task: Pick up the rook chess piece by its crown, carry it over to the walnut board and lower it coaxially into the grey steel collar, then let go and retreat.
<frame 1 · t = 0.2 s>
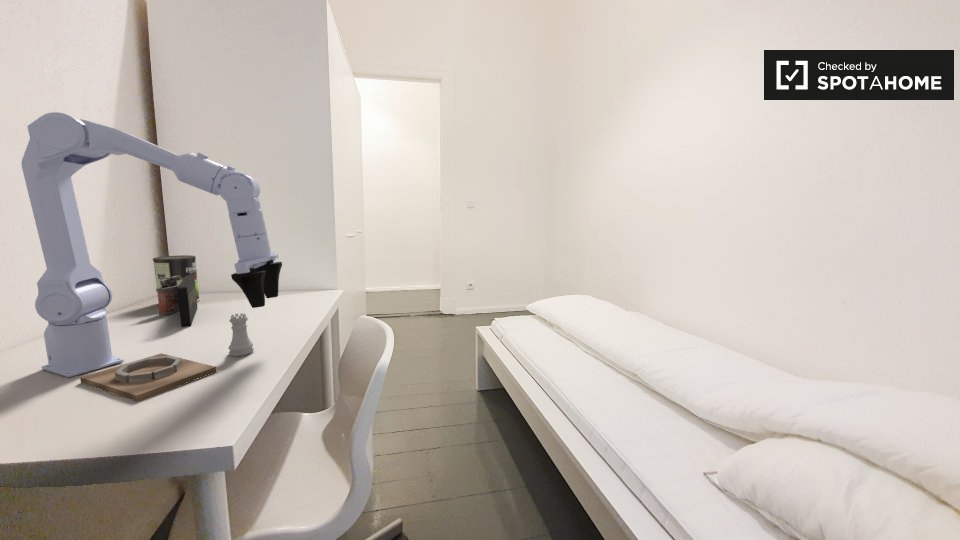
hand: (265, 301, 80), 10 cm above the table, tool pointing down, fingers open, 7 cm apart
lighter: (173, 312, 110), on the table
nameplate: (190, 317, 106), on the table
socket board: (151, 377, 68), on the table
rook chess piece: (241, 354, 80), on the table
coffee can: (179, 302, 121), on the table
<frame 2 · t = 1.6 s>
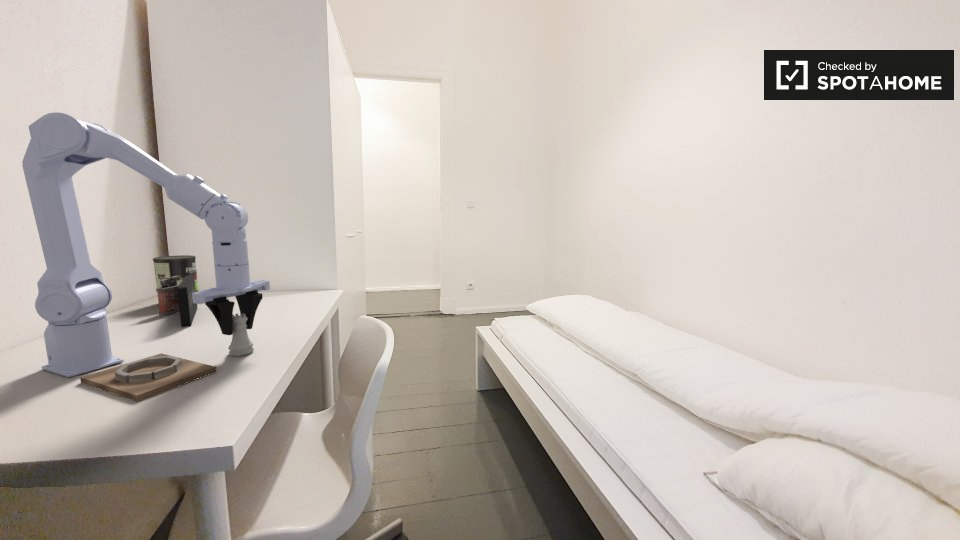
hand: (237, 331, 79), 5 cm above the table, tool pointing down, fingers open, 4 cm apart
rook chess piece: (241, 354, 80), on the table, touching gripper
everything else where it was.
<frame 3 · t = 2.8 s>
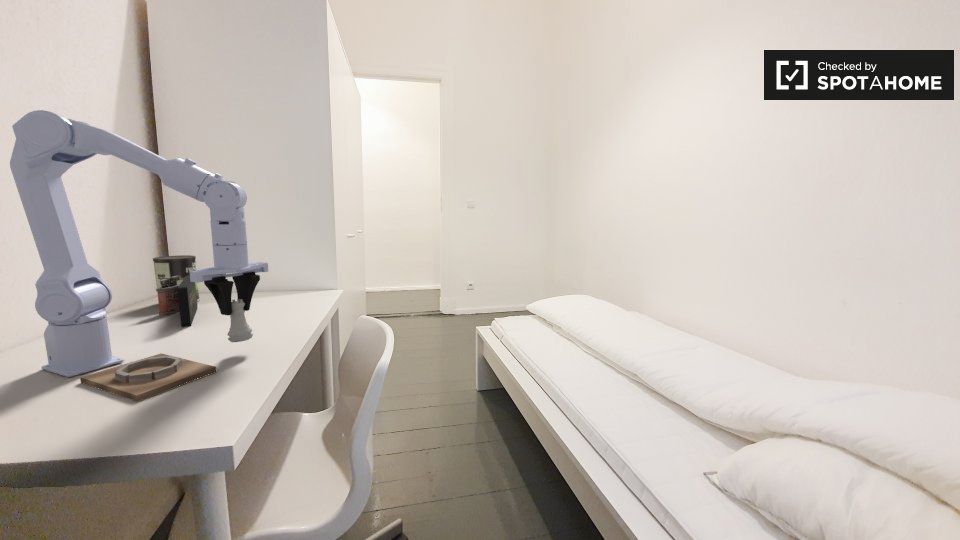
hand: (235, 312, 78), 9 cm above the table, tool pointing down, fingers closed on rook chess piece, 3 cm apart
rook chess piece: (241, 340, 79), point 3 cm above the table, touching gripper
everything else where it was.
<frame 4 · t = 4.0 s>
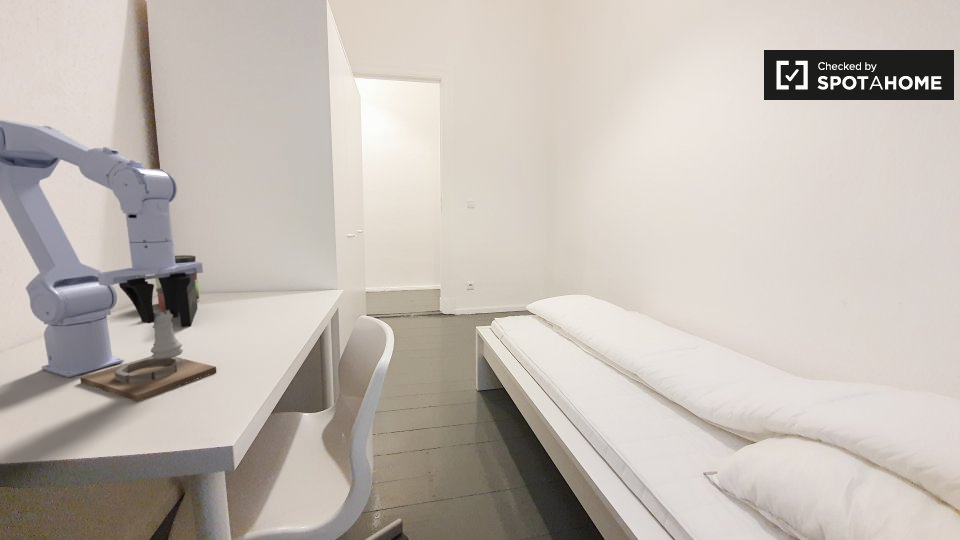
hand: (160, 319, 68), 10 cm above the table, tool pointing down, fingers closed on rook chess piece, 3 cm apart
rook chess piece: (168, 356, 69), point 3 cm above the table, touching gripper
everything else where it was.
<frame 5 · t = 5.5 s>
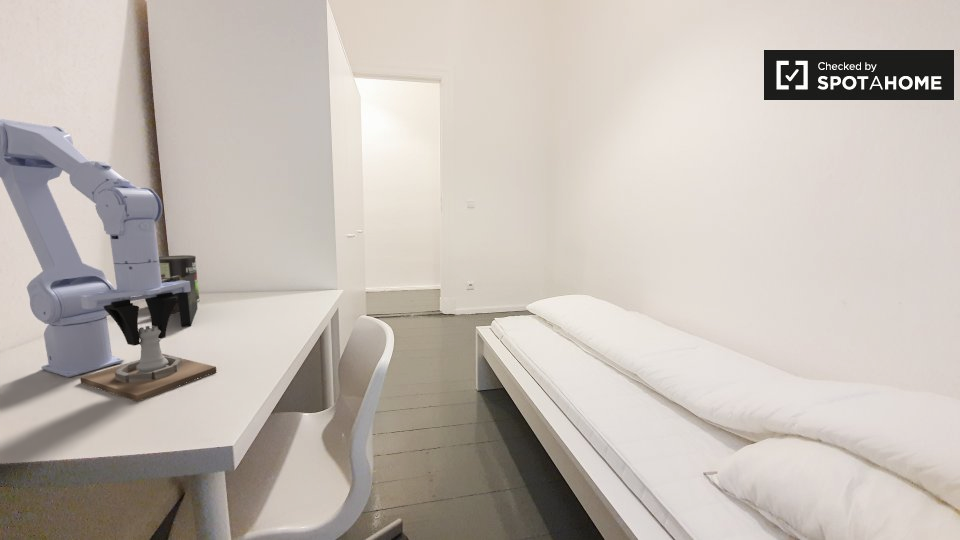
hand: (146, 340, 67), 7 cm above the table, tool pointing down, fingers closed on rook chess piece, 3 cm apart
rook chess piece: (153, 373, 68), point 1 cm above the table, touching gripper, socket board
everything else where it was.
when the fingers open (6 cm above the table, at t = 6.3 s): rook chess piece stays where it is, resting on socket board.
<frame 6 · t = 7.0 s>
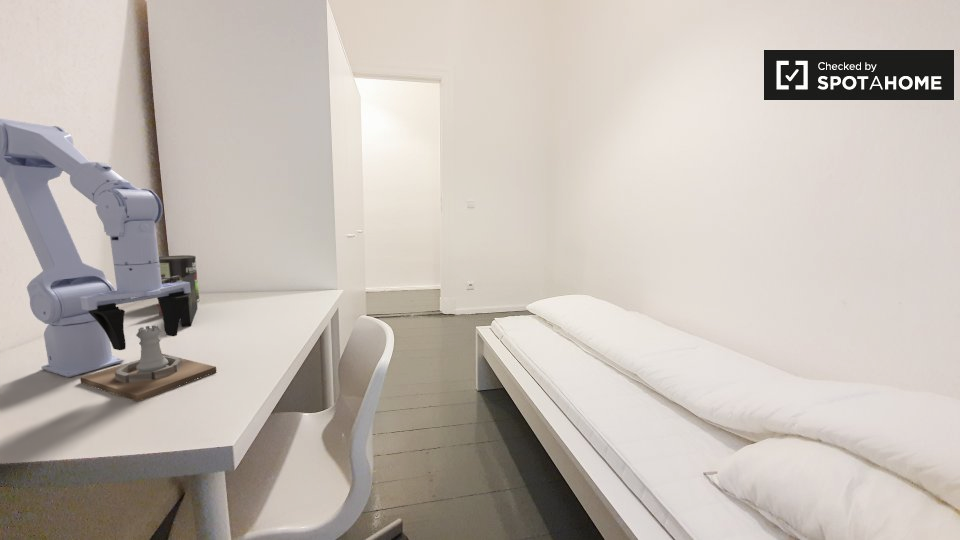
hand: (146, 341, 67), 6 cm above the table, tool pointing down, fingers open, 7 cm apart
rook chess piece: (153, 373, 68), point 1 cm above the table, touching socket board
everything else where it was.
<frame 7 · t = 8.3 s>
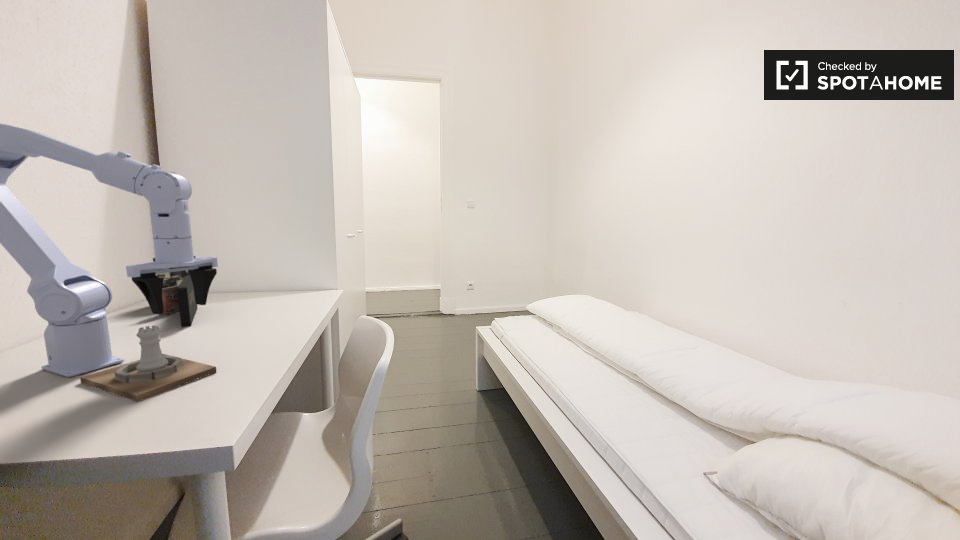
hand: (180, 308, 75), 10 cm above the table, tool pointing down, fingers open, 7 cm apart
nothing on the table moved.
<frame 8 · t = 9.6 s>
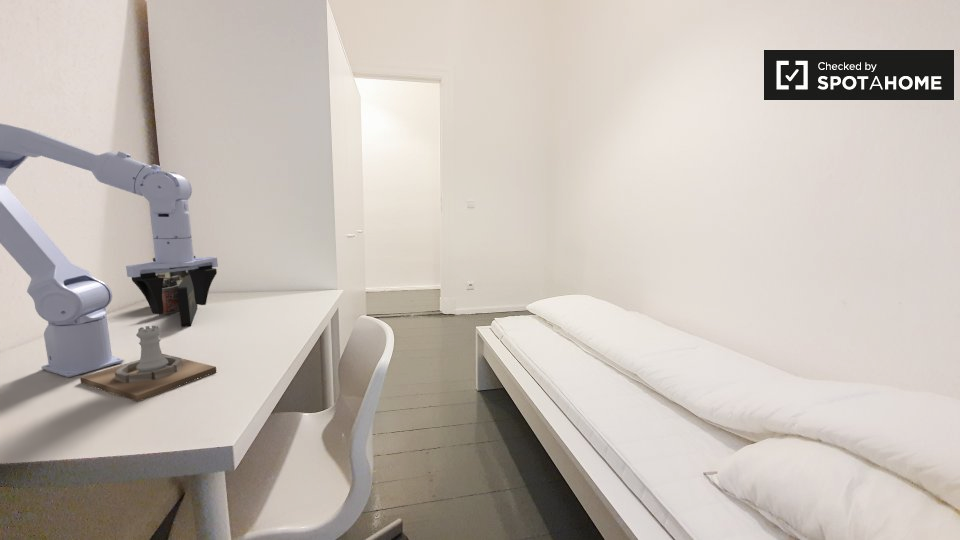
hand: (180, 308, 75), 10 cm above the table, tool pointing down, fingers open, 7 cm apart
nothing on the table moved.
at the end: rook chess piece 0.9 cm off-centre on the socket board, point 0.8 cm above the socket board's base; rook chess piece tilted 0°; the gripper is holding nothing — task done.
